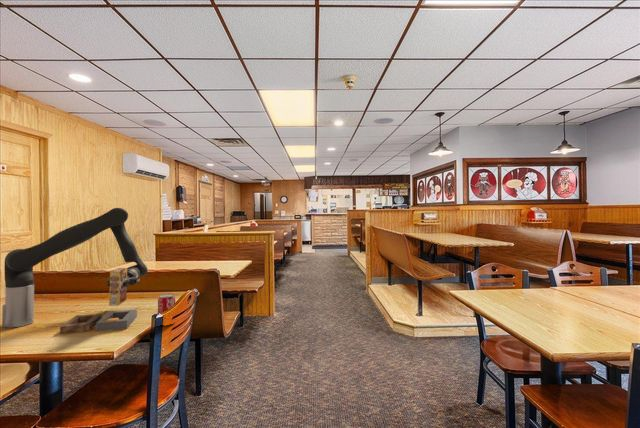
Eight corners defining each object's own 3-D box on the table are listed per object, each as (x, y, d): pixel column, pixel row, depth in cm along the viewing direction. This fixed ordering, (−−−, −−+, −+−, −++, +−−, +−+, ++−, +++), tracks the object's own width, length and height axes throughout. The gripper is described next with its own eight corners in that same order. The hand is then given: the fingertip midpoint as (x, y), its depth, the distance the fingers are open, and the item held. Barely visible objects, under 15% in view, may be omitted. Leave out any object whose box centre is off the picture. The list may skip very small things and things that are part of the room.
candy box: (119, 305, 136) (119, 271, 136) (108, 306, 135) (108, 271, 135) (127, 300, 145) (127, 267, 144) (117, 300, 144) (117, 267, 143)
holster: (60, 334, 127) (60, 326, 127) (76, 321, 141) (76, 315, 141) (88, 331, 130) (89, 324, 130) (101, 319, 144) (102, 313, 144)
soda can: (168, 327, 135) (168, 297, 135) (153, 326, 136) (154, 296, 136) (178, 322, 142) (179, 293, 142) (165, 320, 143) (165, 292, 143)
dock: (95, 331, 130) (96, 321, 130) (109, 318, 145) (109, 309, 145) (127, 328, 133) (127, 318, 133) (136, 316, 149) (137, 307, 149)
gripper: (111, 270, 152) (98, 277, 136) (144, 269, 156) (135, 275, 140) (111, 285, 152) (98, 294, 136) (144, 283, 156) (135, 292, 140)
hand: (117, 285), depth 138 cm, fingers closed on candy box, 4 cm apart
